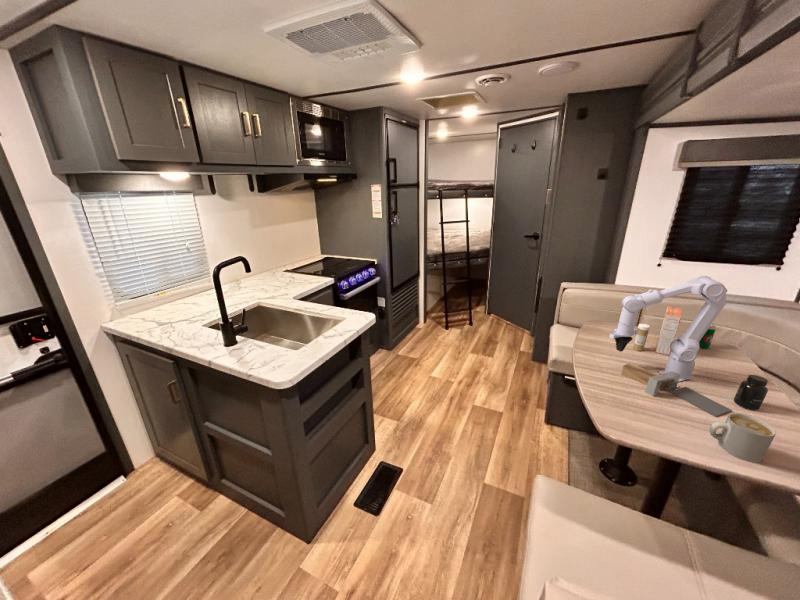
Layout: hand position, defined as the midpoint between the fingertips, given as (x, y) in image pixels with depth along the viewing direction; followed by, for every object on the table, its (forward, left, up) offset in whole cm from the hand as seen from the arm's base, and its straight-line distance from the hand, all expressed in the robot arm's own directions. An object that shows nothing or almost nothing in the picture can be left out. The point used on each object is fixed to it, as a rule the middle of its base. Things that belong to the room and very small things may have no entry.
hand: (619, 350), depth 141 cm
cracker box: (-37, -4, -9) cm, 38 cm away
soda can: (-58, +1, -9) cm, 59 cm away
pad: (-7, +29, -8) cm, 31 cm away
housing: (0, +20, -8) cm, 21 cm away
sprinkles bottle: (-25, -8, -9) cm, 28 cm away
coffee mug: (+9, +47, -9) cm, 49 cm away
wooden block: (0, +12, -9) cm, 15 cm away
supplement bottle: (-21, +36, -9) cm, 43 cm away
